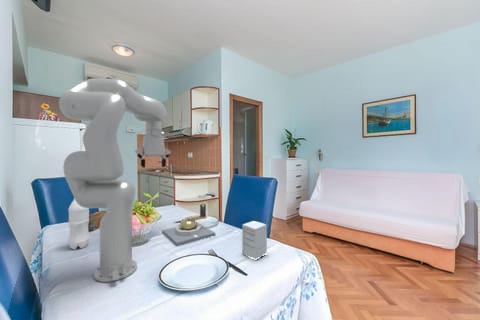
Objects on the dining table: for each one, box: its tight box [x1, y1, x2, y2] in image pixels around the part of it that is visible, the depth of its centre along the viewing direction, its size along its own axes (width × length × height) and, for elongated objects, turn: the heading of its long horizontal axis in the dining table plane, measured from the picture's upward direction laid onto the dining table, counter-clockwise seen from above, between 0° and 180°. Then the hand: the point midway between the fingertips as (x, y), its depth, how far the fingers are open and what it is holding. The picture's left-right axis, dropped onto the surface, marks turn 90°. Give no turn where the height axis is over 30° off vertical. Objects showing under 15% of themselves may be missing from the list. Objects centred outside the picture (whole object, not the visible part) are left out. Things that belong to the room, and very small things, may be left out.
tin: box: [88, 210, 107, 231], centre depth 114 cm, size 15×3×8 cm, turn 179°
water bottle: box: [67, 197, 90, 250], centre depth 89 cm, size 7×7×25 cm
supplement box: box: [241, 220, 268, 259], centre depth 83 cm, size 7×7×13 cm
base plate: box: [161, 222, 216, 247], centre depth 105 cm, size 20×20×4 cm
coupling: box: [178, 203, 207, 231], centre depth 106 cm, size 14×7×12 cm, turn 124°
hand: (153, 167), depth 105 cm, fingers open, 9 cm apart
